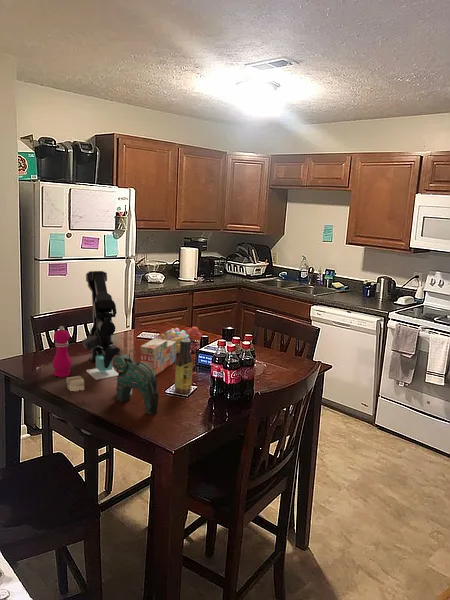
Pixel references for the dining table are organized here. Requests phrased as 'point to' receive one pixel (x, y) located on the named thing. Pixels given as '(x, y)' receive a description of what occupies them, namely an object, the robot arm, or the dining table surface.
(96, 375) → the white mat
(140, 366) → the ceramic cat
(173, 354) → the stack of blocks
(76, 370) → the dining table surface
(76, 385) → the birch block
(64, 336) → the pepper mill
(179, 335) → the pastel sphere sculpture
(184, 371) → the sauce bottle
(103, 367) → the teal block
